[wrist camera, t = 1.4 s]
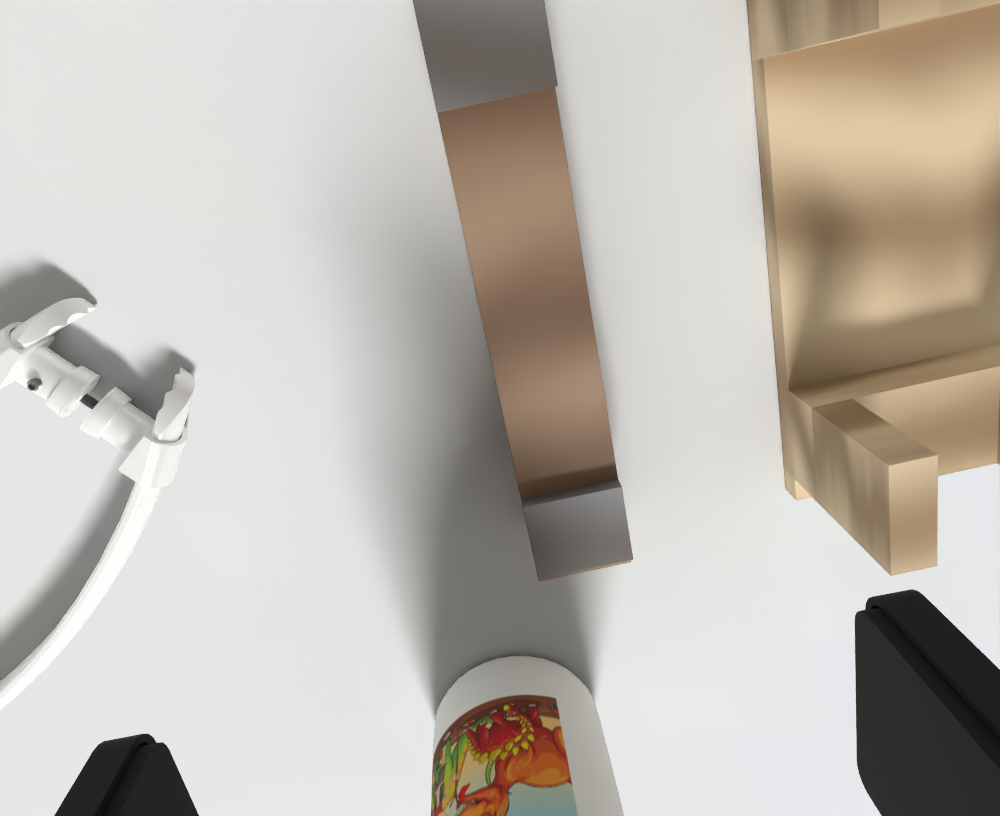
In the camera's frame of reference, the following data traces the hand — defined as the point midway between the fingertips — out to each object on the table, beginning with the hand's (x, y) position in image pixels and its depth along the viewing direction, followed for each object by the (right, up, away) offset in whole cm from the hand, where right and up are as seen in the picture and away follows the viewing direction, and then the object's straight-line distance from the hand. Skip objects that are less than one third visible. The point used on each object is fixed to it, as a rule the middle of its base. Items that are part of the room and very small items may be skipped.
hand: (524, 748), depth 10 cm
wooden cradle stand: (+14, +12, +17) cm, 25 cm away
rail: (+1, +9, +18) cm, 20 cm away
